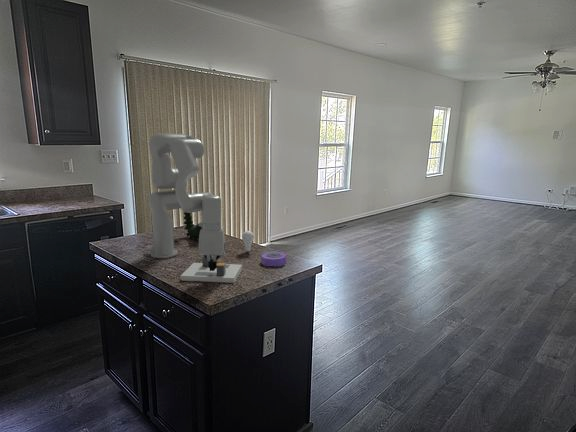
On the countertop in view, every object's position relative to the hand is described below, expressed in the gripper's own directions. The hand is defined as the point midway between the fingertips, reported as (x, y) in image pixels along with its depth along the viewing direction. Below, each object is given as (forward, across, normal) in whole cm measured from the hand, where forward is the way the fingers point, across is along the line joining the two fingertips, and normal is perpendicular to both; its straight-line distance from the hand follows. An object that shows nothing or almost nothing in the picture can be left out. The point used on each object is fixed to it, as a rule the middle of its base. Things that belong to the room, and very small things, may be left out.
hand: (212, 269), depth 148 cm
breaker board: (+4, -2, +5) cm, 7 cm away
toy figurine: (+5, -25, +57) cm, 62 cm away
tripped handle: (+2, +4, 0) cm, 4 cm away
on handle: (+2, -6, +10) cm, 12 cm away
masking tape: (+4, +22, +24) cm, 33 cm away
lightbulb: (+5, +7, +39) cm, 40 cm away
